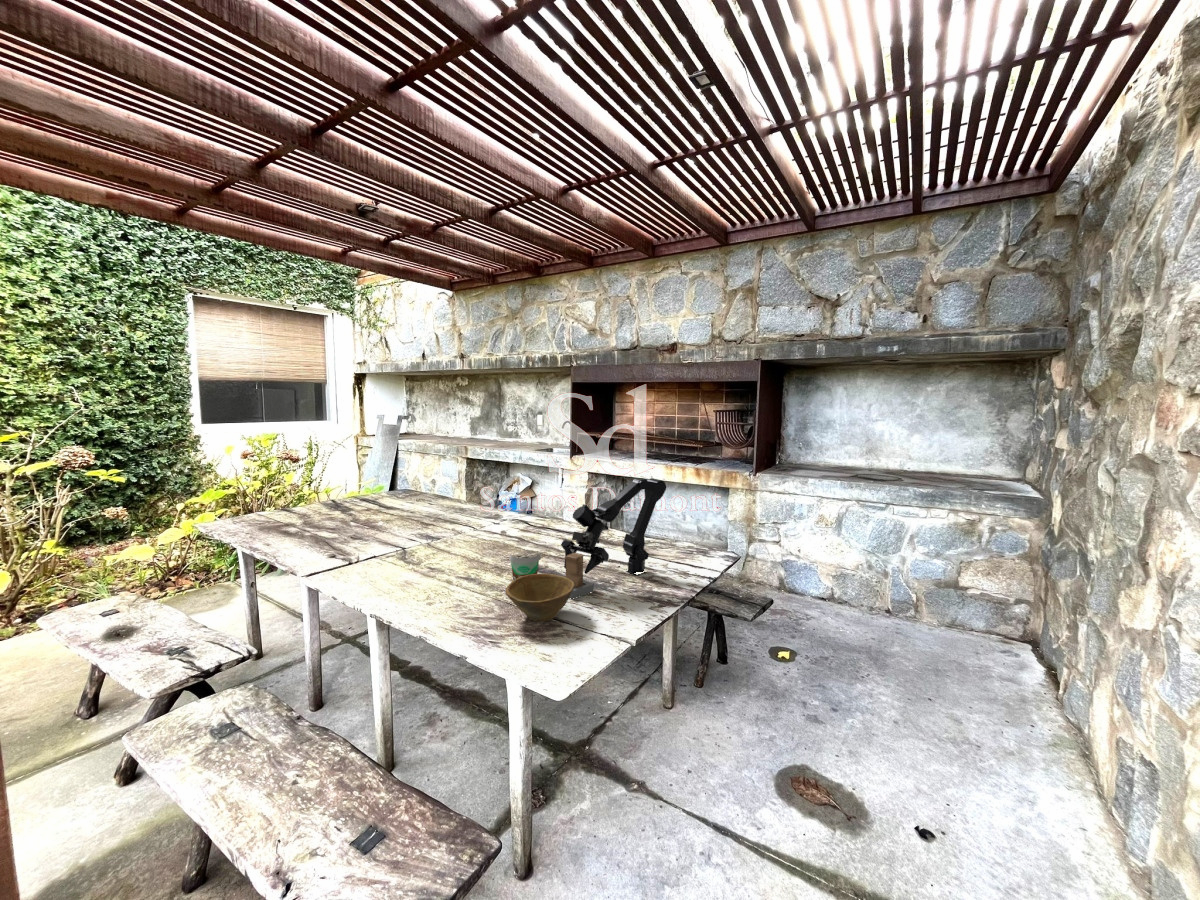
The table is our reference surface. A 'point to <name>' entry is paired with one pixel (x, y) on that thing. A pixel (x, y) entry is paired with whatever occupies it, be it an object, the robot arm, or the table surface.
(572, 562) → the tall wooden post
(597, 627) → the table surface
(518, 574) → the food container
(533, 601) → the bowl
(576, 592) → the socket
